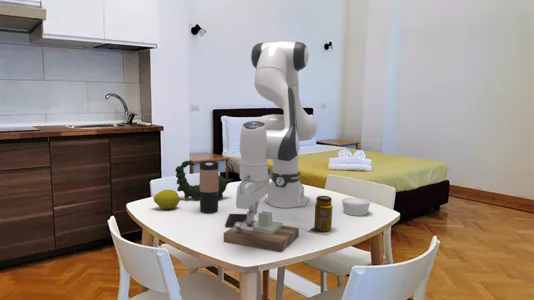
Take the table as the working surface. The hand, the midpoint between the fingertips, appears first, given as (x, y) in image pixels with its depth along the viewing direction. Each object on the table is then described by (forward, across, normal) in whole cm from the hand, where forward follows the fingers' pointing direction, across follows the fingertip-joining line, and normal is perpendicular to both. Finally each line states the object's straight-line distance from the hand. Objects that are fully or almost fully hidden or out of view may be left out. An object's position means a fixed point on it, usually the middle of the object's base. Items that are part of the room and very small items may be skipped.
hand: (253, 214), depth 135 cm
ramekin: (+10, +47, -27) cm, 55 cm away
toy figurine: (+10, +42, +40) cm, 59 cm away
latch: (+4, -2, +2) cm, 5 cm away
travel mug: (+10, +25, +29) cm, 40 cm away
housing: (+9, +2, -2) cm, 10 cm away
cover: (+6, +5, -2) cm, 8 cm away
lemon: (+10, +22, +46) cm, 52 cm away
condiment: (+10, +19, -19) cm, 28 cm away
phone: (+10, +17, +13) cm, 24 cm away
